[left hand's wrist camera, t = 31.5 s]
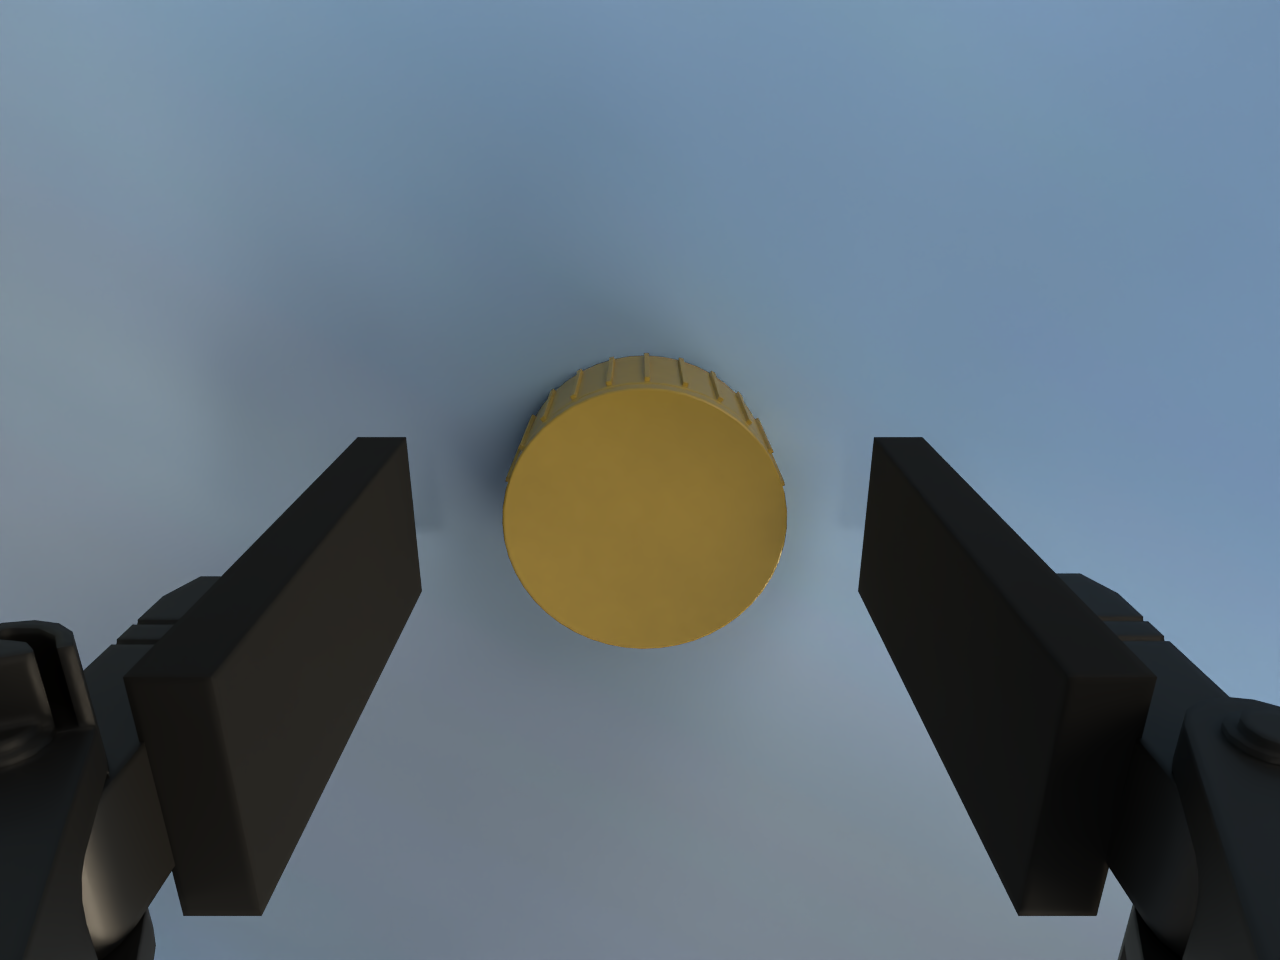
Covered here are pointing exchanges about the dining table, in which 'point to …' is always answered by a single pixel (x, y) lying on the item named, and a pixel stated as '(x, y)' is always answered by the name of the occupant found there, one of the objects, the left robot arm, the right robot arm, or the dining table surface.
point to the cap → (644, 504)
